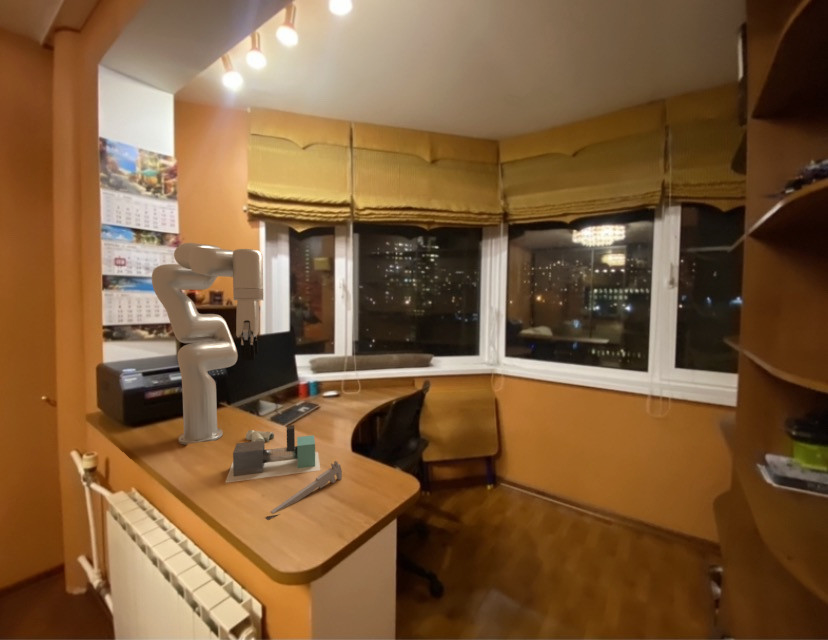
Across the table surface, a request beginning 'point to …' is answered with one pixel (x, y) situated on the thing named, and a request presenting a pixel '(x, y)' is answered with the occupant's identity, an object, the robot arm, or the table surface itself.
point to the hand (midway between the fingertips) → (250, 356)
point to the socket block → (306, 451)
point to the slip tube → (282, 449)
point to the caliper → (312, 486)
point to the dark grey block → (248, 458)
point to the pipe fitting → (259, 436)
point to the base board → (275, 470)
